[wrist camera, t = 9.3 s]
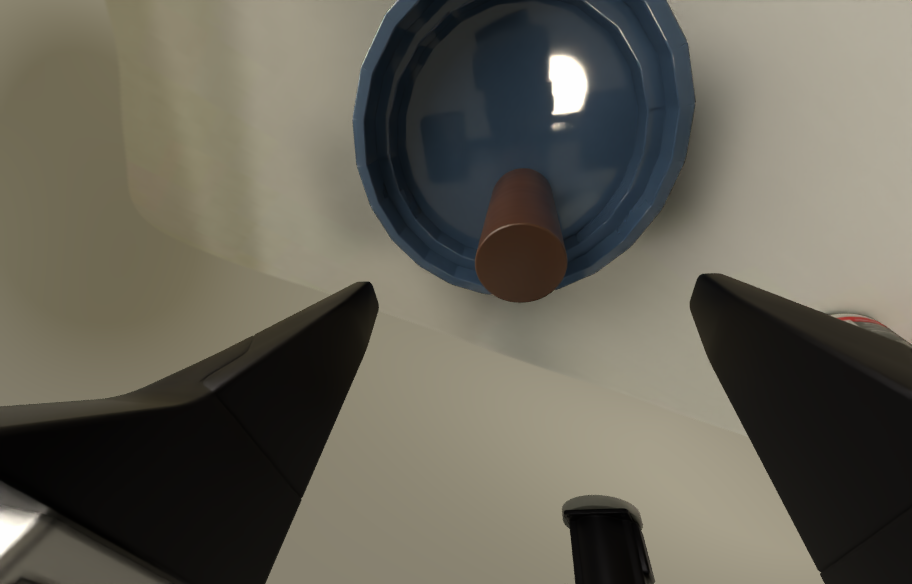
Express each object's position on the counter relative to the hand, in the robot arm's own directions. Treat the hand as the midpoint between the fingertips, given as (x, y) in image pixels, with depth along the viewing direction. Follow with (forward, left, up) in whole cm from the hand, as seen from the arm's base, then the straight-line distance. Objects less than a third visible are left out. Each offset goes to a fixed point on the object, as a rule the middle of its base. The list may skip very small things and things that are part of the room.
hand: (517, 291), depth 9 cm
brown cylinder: (0, 0, -5) cm, 5 cm away
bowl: (0, +2, -9) cm, 10 cm away
